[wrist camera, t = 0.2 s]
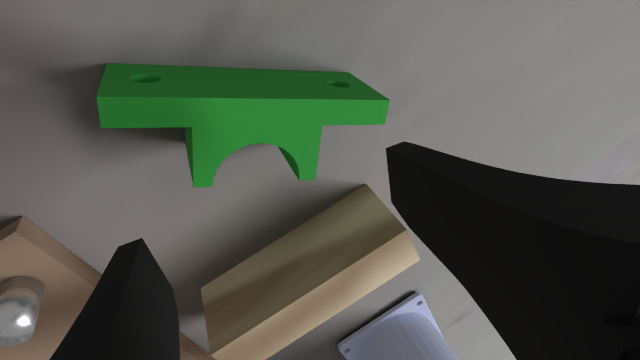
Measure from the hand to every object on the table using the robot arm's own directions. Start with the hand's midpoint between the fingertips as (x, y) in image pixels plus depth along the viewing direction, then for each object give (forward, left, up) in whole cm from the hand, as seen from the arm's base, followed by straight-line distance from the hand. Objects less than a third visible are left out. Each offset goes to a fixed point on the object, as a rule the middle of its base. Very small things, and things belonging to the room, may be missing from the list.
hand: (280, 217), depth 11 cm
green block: (0, 0, -10) cm, 10 cm away
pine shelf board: (-10, +2, -10) cm, 14 cm away
